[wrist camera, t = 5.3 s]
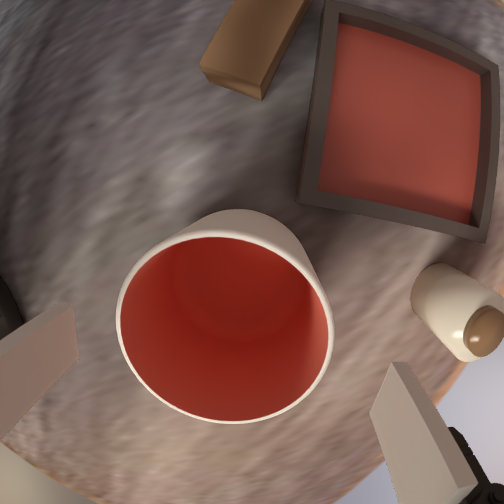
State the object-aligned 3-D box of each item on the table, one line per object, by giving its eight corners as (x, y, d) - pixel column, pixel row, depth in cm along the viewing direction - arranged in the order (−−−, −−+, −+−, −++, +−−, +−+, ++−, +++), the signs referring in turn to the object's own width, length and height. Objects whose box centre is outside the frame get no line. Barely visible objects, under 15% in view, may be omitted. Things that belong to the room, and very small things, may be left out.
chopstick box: (210, 83, 20) (198, 64, 16) (264, -14, 18) (263, -42, 14) (261, 101, 20) (259, 85, 16) (312, 1, 18) (318, -26, 14)
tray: (295, 200, 21) (298, 203, 19) (321, 13, 18) (325, -2, 16) (468, 237, 21) (485, 243, 19) (483, 72, 18) (498, 65, 15)
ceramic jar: (403, 317, 23) (447, 369, 15) (419, 258, 22) (476, 293, 14) (448, 322, 23) (497, 367, 15) (465, 267, 22) (524, 300, 14)
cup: (221, 179, 21) (182, 179, 12) (336, 260, 22) (380, 317, 13) (151, 289, 24) (88, 353, 14) (257, 358, 24) (249, 449, 15)
